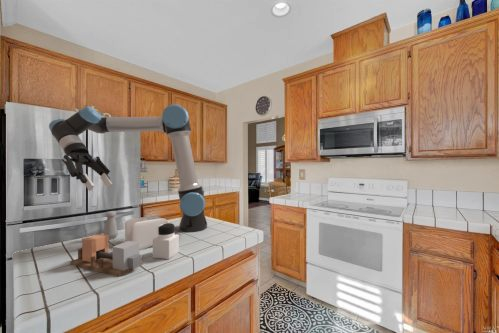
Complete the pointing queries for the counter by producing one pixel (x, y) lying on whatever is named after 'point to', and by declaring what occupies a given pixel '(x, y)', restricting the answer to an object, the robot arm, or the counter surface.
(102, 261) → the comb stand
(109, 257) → the dark grey rod
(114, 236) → the salt shaker
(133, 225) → the cable organizer
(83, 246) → the sleeve
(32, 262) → the counter surface
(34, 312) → the counter surface
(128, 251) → the block
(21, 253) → the counter surface
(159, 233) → the medicine bottle
